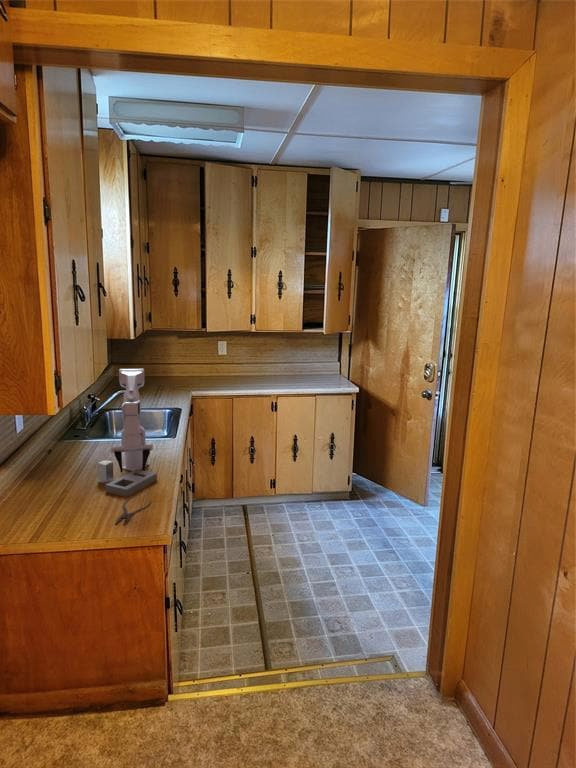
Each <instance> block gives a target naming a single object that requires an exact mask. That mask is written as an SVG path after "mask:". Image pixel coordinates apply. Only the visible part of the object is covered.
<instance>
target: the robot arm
mask: <svg viewBox="0 0 576 768" xmlns="http://www.w3.org/2000/svg"><path fill="white" fill-rule="evenodd" d="M118 380H119V381H118V382H119V383H118V384H119V385H120V387H121V388H125V390H124V392H123V403H121V416H122V423H123V426H122V427H123V428H122V430H121V439H120V441H121V442H120V443H121V445H119V446H111V447H110V454H114V457H115V459H116V461H117V464H118V466H119V469H120V470H119V472H120V473H124V472H123V471H124V470H127V471H130V472H132V471H134V470H136V469H139V470H143V471H146V467H148V466H149V465H150V463H149V461H148V459H149V457H150V453H151V451H154V450H153V449H154V445H153V444H146V429H145V428H144V426H142V425H141V421H140V419H141V418H140V417H141V415H142V413H141V412H142V409H141V407H142V406H141V401H140V392H139V389H140V388H141V387H144V385H145V369H144V368H143V367H141V368H119V370H118ZM123 453H124V459H125V460H124V461H125V465H123V457H122V455H123ZM147 465H148V466H147ZM145 466H146V467H145Z"/></svg>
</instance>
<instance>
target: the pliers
mask: <svg viewBox="0 0 576 768" xmlns="http://www.w3.org/2000/svg"><path fill="white" fill-rule="evenodd" d="M130 500H131V499H130V498H128V499H127V500H125V501H124V502H123V504H122V509H123V513H122V514H121V515H120V516H119V517H118V518H117V519H116V521H115V523H114V526H117V525H118V524H119V523H120V522H122V520H124V521H123V523H122V526H126V525H128V523H129V522H130V521H131V519H132V517H133V516H134V515H135V514H138V513H139V512H141V511H143V510H145V509H147V508H148V507H150V506H151V504H152V503H153V501H152V500H151V499H150V501H149V503H148V504H146V505H145V506H143V507H140V508H139V509H137V510H134V511H133V512H129V513H128V509H127V508H126V504H127V503H129V501H130ZM146 507H147V508H146ZM121 519H122V520H121Z"/></svg>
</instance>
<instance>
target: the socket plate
mask: <svg viewBox="0 0 576 768" xmlns="http://www.w3.org/2000/svg"><path fill="white" fill-rule="evenodd" d="M157 477H158V474H157V472H154V471H153V472H152V471H147V470H145V471H143V470H142V469H140V470H139V469H136V470H134V471H130V472H128V473H126V474H124V475H121V476H120V477H118V478H116V479H114V481H112V482H110V483H108V484H104V487H105V493H108V494H112V495H117V496H120V497H124V498H128V497H130V496H132V495H134V494H135V493H137V492H139V491H140V489H141V490H142V489H144V488H146V487H147V485H148V484H149V485H151V484H153V483H155V482H156V481H158V478H157ZM155 480H156V481H155ZM154 481H155V482H154ZM152 482H153V483H152ZM150 483H151V484H150ZM149 485H148V486H149ZM145 486H146V487H145ZM143 487H144V488H143ZM138 490H139V491H138ZM133 493H134V494H133Z"/></svg>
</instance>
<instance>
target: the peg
mask: <svg viewBox="0 0 576 768" xmlns="http://www.w3.org/2000/svg"><path fill="white" fill-rule="evenodd" d="M97 477H98V478H97V479H98V481H97V482H98V483H99V484H104V485H106V484H107V483H109V482H112V481H114V480H115V478H114V461H111V460H107V459H105V460H102V461H99V462H97Z"/></svg>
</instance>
